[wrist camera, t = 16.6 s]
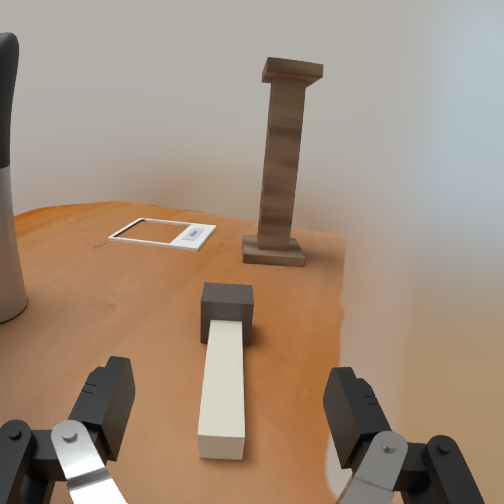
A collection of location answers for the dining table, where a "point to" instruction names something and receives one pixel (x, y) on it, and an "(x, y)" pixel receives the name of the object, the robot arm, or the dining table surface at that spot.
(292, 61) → the walnut stand
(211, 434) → the grey-headed mallet
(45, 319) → the dining table surface
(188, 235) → the photo frame
